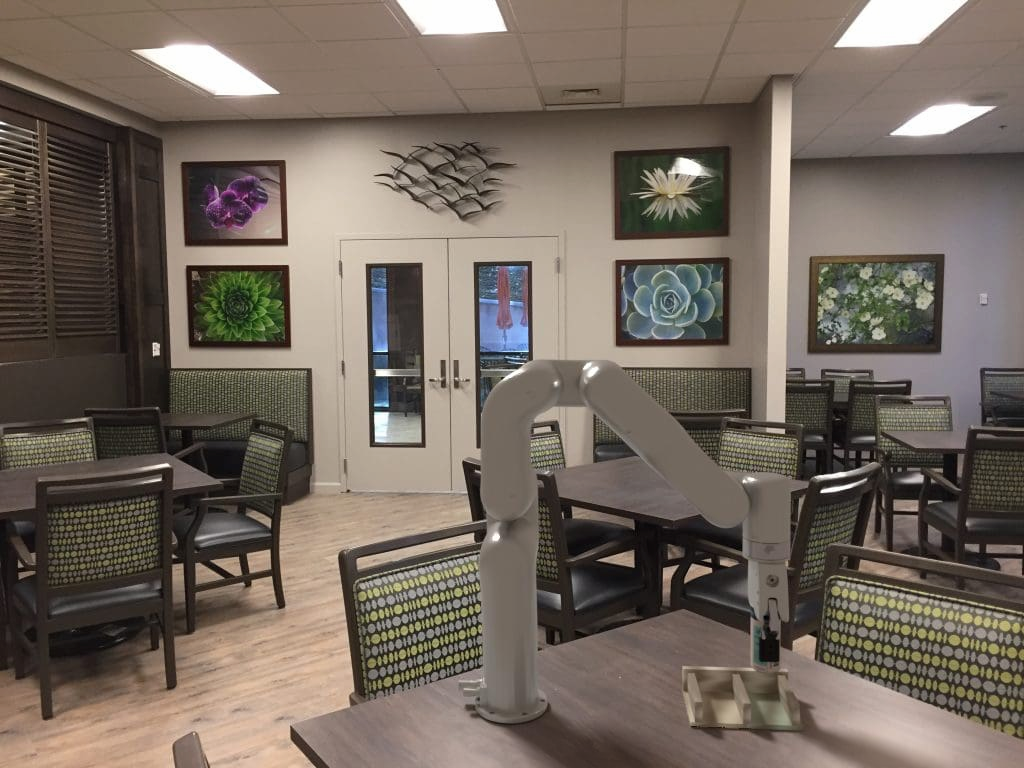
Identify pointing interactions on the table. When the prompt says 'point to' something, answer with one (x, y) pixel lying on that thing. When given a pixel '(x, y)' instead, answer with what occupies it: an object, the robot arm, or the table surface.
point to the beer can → (754, 655)
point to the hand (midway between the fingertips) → (765, 652)
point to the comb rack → (740, 698)
